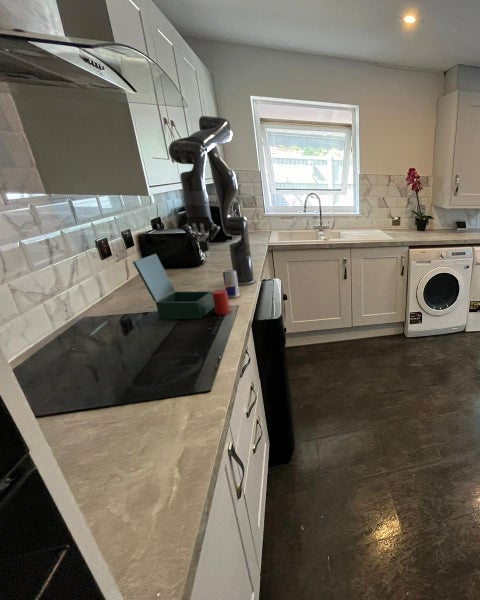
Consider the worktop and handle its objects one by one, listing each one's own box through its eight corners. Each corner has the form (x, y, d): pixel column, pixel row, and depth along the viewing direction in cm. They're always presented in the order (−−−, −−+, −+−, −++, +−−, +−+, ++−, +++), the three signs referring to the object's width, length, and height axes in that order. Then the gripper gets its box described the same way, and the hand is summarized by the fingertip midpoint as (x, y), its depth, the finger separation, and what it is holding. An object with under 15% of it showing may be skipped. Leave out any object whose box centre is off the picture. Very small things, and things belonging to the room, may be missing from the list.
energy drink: (223, 296, 146) (219, 271, 142) (234, 293, 150) (230, 268, 146) (231, 299, 144) (227, 273, 140) (242, 295, 148) (238, 270, 144)
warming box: (214, 306, 135) (212, 291, 133) (200, 319, 123) (197, 302, 121) (177, 306, 133) (174, 291, 131) (159, 319, 122) (155, 302, 119)
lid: (156, 253, 125) (154, 254, 125) (134, 261, 113) (132, 262, 113) (175, 290, 131) (173, 290, 131) (156, 301, 119) (154, 301, 119)
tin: (219, 310, 132) (215, 289, 129) (231, 310, 132) (228, 289, 129) (213, 315, 127) (209, 293, 124) (227, 315, 128) (223, 293, 124)
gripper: (220, 203, 119) (227, 249, 125) (182, 202, 117) (191, 249, 123) (212, 205, 112) (220, 253, 118) (171, 203, 110) (181, 253, 116)
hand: (205, 251), depth 121 cm, fingers closed
